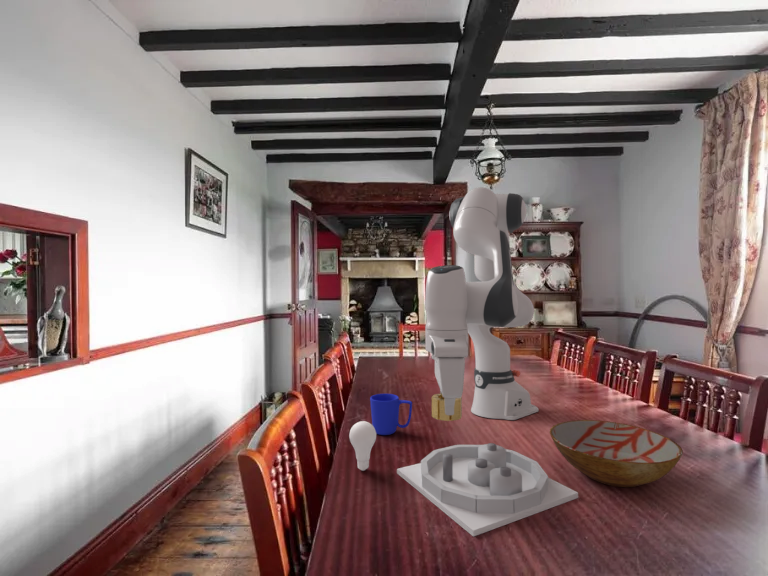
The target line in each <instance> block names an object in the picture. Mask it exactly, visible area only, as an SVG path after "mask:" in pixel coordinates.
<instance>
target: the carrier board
mask: <svg viewBox="0 0 768 576" xmlns="http://www.w3.org/2000/svg"><path fill="white" fill-rule="evenodd" d="M396 474H397V475H398V476H400V478H402V479H404V481H406V482H407V483H408V484H409V485H411V486H412V487H413V488H414V489H416V491H418V492H419V493H420V494H421V495H423V497H424V498H426V499H427V500H429V501H430V502H431V503H432V504H433V505H435V506H436V507H437V508H438V509H440V510H441V511H442V512H443V513H444V514H445V515H447V517H449V518H450V519H452V521H454V522H455V523H456V524H457V525H459V526H460V527H461V528H463V530H465V531H466V532H467V533H468V534H470V535H471V536H472V537H477V536H479V535H482V534H484V533H487V532H489V531H492V530H494V529H497V528H501V527H503V526H505V525H508V524H511V523H514V522H516V521H519V520H521V519H524V518H527V517H531V516H533V515H536V514H538V513H541V512H543V511H547V510H548V509H552V508H554V507H557V506H560V505H563V504H565V503H568V502H570V501H573V500H576V499H579V492H578V491H576V490H574V489H572V488H570V487H568V486H566V485H564V484H562V483H560V482H558V481H556V480H554V479H552V478H551V477H549V476H548V474H547V473H546V472H545V471H544V469H543V468H542V466H541V465H540V464H539V462H538V461H536V460H534V459H533V458H531V457H528V456H526V455H524V454H521V453H520V452H517V451H515V450H513V449H512V450H511V449H507V448H505V447H504V446H501V445H498V444H496V443H493V442H489V443H485V444H454V445H450V446H446V447H442V448H438V449H433V450H432V451H431V452H429V453H428V454H427V455H426V456H424V457H423V458H422V459H421V460H420V462H419V463H415V464H411V465H407V466H401V467H400V468H397V469H396Z"/></svg>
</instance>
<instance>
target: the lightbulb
mask: <svg viewBox="0 0 768 576" xmlns="http://www.w3.org/2000/svg"><path fill="white" fill-rule="evenodd" d="M348 434H349V435H348V437H349V442H350V443H351V446H352V447H353V449H354V452H355V458H356V462H357V464H356V465H357V469H359V470H360V471H362V472H364V471H366V470H368V469H369V467H370V458H371V451H372V448H373V446H374V445H375V442H376V440H377V433H376V431H375V428H374V427H373V425H372V423H370V422H368V421H364V420H362V421H361V420H360V421H358V422H356V423H354V424H353V425H352V426H351V428H350V430H349V433H348Z"/></svg>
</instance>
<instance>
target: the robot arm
mask: <svg viewBox="0 0 768 576" xmlns="http://www.w3.org/2000/svg"><path fill="white" fill-rule="evenodd" d="M448 216H449V221H450V222H449V223H450V225H451V228H453V232H452V233H453V239H454V241H455V242H456V244H457V245H458V247H460V248H461V250H463V251H464V252H466V253H468V254H470V255H474V257H473V258H474V259H473V260H474V263H473V265H474V266H473V267H474V269H473V270H474V272H473V273H474V275H475V278H476V279H477V280H478V281H467V279H466V274H465V269H464V267H462V266H460V265H456V264H452V265H451V264H450V265H449V264H447V265H438V266H435V267H434V266H433V267H432V268H430V269H429V270H428V272H427V276H426V281H425V282H426V283H425V294H424V296H425V297H424V309H425V312H426V323H425V327H424V329H425V330H424V331H425V332H424V333H425V334H424V335H425V338H424V339H425V342H424V343H425V344H424V346H425V351H426V352H427V353H430V354H431V359H432V360H434V376H435V378H436V382H437V385H438V387H439V394H441V393H442V395H443V397H444V402H445V404H444V411H445V414H446V415H453V414H454V405H455V398H461V397H462V395H463V391H464V383H465V381H464V380H465V366H466V365H465V364H466V358H467V357H468V356H469V337H470V338H471V341H472V344H473V350H474V359H475V362H474V363H475V367H474V368H473V371H474V372H473V379H474V391H473V392H474V394H473V399H472V403H471V404H472V405H471V408H470V412H471V413H472V414H473V415H476V416H479V417H482V418H486V419H487V418H488V419H499V420H506V421H507V420H508V421H516V420H518V419H521V418H524V417H527V416H529V415H532V414H535V413H538V412H539V408H538V406H536V405H535V404H532V402H531V401H532V399H531V395H530V392H529V391H528V390H527V389H525V388H524V387H523V386H522V385H521V384H520V383H518V382H517V381H516V380H515V379H516V378H515V377H518V378H519V377H520V376H521V371H520V370H516V369H513V370H512V369H511V348H510V345H508V344H509V343H508V342H506V341H505V340H503V339H501V338H500V337H498V336H496V335H493V334H492V333H491V328H515V327H516V328H518V327H522V326H523V327H524V326H527V325H528V324H529V323H530V322H531V321H532V319H533V317H534V313H535V307H534V304H533V302H532V300H531V298H529V297H528V296H527V295H526V294H525V293H523V292H522V291H521V289H519V288H518V286H517V285H516V283H515V281H514V274H513V264H512V255H511V247H510V246H511V245H510V242H511V241H510V234H512V233H514V231H516V230H518V229H519V228H521V227H522V226H523V225H524V221H525V220H526V217H527V206H526V203H525V200H524V197H522V196H521V194H519V193H518V194H517V193H511V192H509V193H508V194H506V193H495V192H494V191H492V189H489V188H487V187H482V186H480V187H478V186H477V187H474V188H472V189H470V190H469V191H468V192H467V193H466V194H465V195H464V196H463V197H458V198H456V199H455V200H453V202H452V203H451V205H450V208H449V215H448Z"/></svg>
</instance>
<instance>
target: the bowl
mask: <svg viewBox="0 0 768 576" xmlns="http://www.w3.org/2000/svg"><path fill="white" fill-rule="evenodd" d="M549 435H550V437H551V439H552V441H553V443H554V445H555V447H556V448H557V450H558V451H559V453H560V454H561V455H562V456H563V457H564V459H565V460H566V461H567V462H568V463H569V464H570V465H571V466H572V467H574V468H575V469H576V470H578V471H580V472H581V473H582V474H584V475H585V476H587V477H589V479H592V480H594V481H596V482H597V483H602V484H604V485H607V486H611V487H617V488H633V487H634V488H635V487H638V486H642V485H647V484H650V483H653V482H655V481H658V480H660V479H661V478H663V477H665V476H666V475H667V474H668V473H669V472H670V471H672V470H673V469H674V467H675V466H676V465H677V464H678V463H679V461H680V459H681V458H682V456H683V449H682V447H681V446H680V444H678V443H677V442H676V441H674V440H672V439H671V438H670V437H667V436H665V435H663V434H661V433H658V432H655V431H653V430H649V429H647V428H642V427H639V426H635V425H632V424H627V423H626V424H625V423H623V422H622V423H621V422H616V421H615V422H614V421H608V420H597V419H596V420H595V419H580V420H579V419H578V420H577V419H576V420H568V421H562V422H558V423H557V424H555V425H553V426H552V427H550V429H549Z"/></svg>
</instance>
